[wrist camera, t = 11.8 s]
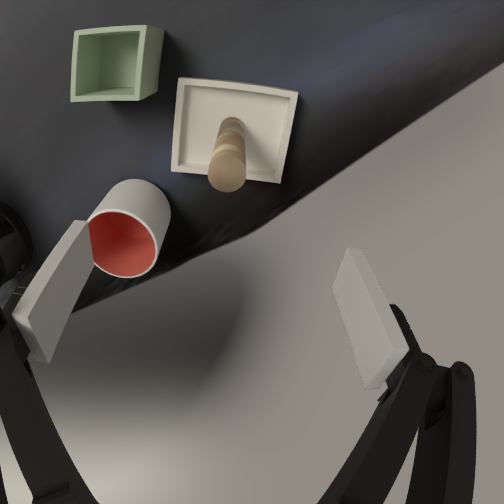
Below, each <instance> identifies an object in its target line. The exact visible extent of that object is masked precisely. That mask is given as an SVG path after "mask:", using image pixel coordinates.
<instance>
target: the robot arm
mask: <svg viewBox="0 0 504 504" xmlns="http://www.w3.org/2000/svg"><path fill="white" fill-rule="evenodd" d="M31 257H32V243H31V239H30V236H29V233H28V231H27V229H26V227H25V225H24V223H23V222H22V220H21V219H20V218H19V216H18V215H17V214H16V213H15V212H14V211H13V210H12V209H11V208H9V207H8V206H6V205H5V204H3V203H0V287H1V286H2V285H3V284H4V283H6V282H7V281H9V280H11V279H12V278H14V277H15V276H17V275H18V274H20V273H21V272H22V271H23V270H24V269H25V268H26V266H27V265H28V263H29V262H30V260H31ZM93 267H94V260H93V254H92V248H91V241H90V234H89V227H88V221H78V220H74V222H73V223H72V224H71V226H70V227H69V228H68V230H67V231H66V232H65V234H64V235H63V236H62V238H61V239H60V240H59V242H58V243H57V245H56V246H55V247H54V249H53V250H52V252H51V253H50V255H49V256H48V257H47V259H46V260H45V262H44V263H43V265H42V266H41V268H40V269H39V271H38V272H34V271H31V272H30V273H28V274H27V275H26V276H25V277H23V279H22V280H21V282H20V283H19V285H18V287H17V288H16V289H15V291H14V294H12V296H11V297H10V299H9V300H8V302H7V304H6V305H5V307H4V308H3V310H2V309H1V307H0V415H1V418H2V421H3V424H4V427H5V430H6V433H7V436H8V439H9V442H10V444H11V447H12V450H13V452H14V455H15V457H16V460H17V462H18V464H19V467H20V469H21V471H22V473H23V476H24V478H25V480H26V482H27V485H28V487H29V489H30V491H31V492H32V495H33V501H32V504H99V503H98V502H97V501H96V499H95V498H94V496H93V495H92V493H91V492H90V490H89V489H88V487H87V485H86V484H85V482H84V481H83V479H82V477H81V476H80V474H79V472H78V470H77V469H76V467H75V465H74V463H73V461H72V460H71V458H70V456H69V454H68V452H67V451H66V448H65V446H64V444H63V443H62V440H61V439H60V436H59V434H58V432H57V430H56V428H55V426H54V424H53V422H52V419H51V417H50V415H49V413H48V410H47V408H46V406H45V403H44V401H43V398H42V396H41V394H40V391H39V388H38V386H37V383H36V380H35V378H34V375H33V372H32V370H31V366H30V364H29V362H28V360H27V357H28V355H29V353H30V352H31V354H32V356H33V358H34V360H37V361H40V362H44V363H48V364H49V363H50V361H51V358H52V356H53V353H54V350H55V348H56V346H57V343H58V341H59V339H60V336H61V334H62V332H63V329H64V327H65V325H66V323H67V320H68V318H69V316H70V314H71V312H72V310H73V307H74V305H75V303H76V301H77V299H78V297H79V295H80V293H81V291H82V289H83V287H84V285H85V283H86V281H87V279H88V277H89V275H90V273H91V271H92V269H93ZM332 290H333V292H334V295H335V298H336V301H337V304H338V307H339V310H340V313H341V316H342V319H343V322H344V325H345V328H346V331H347V334H348V337H349V341H350V344H351V347H352V350H353V354H354V357H355V360H356V363H357V366H358V370H359V373H360V377H361V380H362V383H363V387H364V389H365V390H366V389H378V388H380V387H381V386H382V385H383V383H384V382H385V381H386V383H387V386H388V388H387V390H386V391H385V392H384V393H383V394H382V396H381V397H380V398H379V399H378V401H380V402H379V404H378V406H377V408H376V410H375V412H374V414H373V416H372V418H371V419H370V421H369V423H368V425H367V426H366V428H365V430H364V432H363V434H362V435H361V437H360V439H359V440H358V442H357V444H356V446H355V448H354V449H353V451H352V452H351V454H350V455H349V457H348V459H347V460H346V462H345V464H344V465H343V467H342V468H341V470H340V471H339V473H338V474H337V476H336V477H335V479H334V481H333V482H332V483H331V485H330V486H329V488H328V489H327V491H326V492H325V493H324V495H323V496H322V498H321V499H320V500H319V502H318V503H317V504H383V503H384V501H385V499H386V497H387V495H388V493H389V491H390V490H391V488H392V486H393V484H394V482H395V480H396V477H397V476H398V474H399V471H400V469H401V467H402V465H403V463H404V460H405V458H406V456H407V454H408V451H409V449H410V447H411V445H412V442H413V440H414V437H415V435H416V432H417V430H418V427H419V430H418V438H417V445H416V451H415V458H414V464H413V469H412V475H411V481H410V485H409V490H408V495H407V499H406V503H405V504H472V498H473V490H474V479H475V465H476V396H475V382H474V374H473V371H472V370H471V368H470V367H469V366H468V365H467V364H465V363H464V362H460V361H457V362H455V363H454V364H453V365H452V366H451V367H450V368H447V367H443V366H439V365H437V364H436V362H435V360H434V359H433V358H432V357H431V356H429V355H428V354H426V353H422V351H421V349H420V347H419V345H418V343H417V341H416V339H415V337H414V334H413V332H412V330H411V329H410V326H409V324H408V322H407V320H406V318H405V316H404V314H403V312H402V311H401V310H400V309H399V308H398V307H397V306H396V305H395V304H388V301H387V299H386V297H385V295H384V293H383V291H382V289H381V287H380V285H379V284H378V281H377V279H376V277H375V276H374V274H373V272H372V270H371V268H370V266H369V264H368V262H367V260H366V258H365V256H364V254H363V253H362V251H361V249H357V248H349V247H347V250H346V252H345V255H344V258H343V260H342V263H341V266H340V269H339V271H338V274H337V276H336V279H335V282H334V284H333V287H332ZM0 504H8V501H7V497H6V493H5V488H4V483H3V479H2V473H1V467H0Z"/></svg>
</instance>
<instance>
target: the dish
mask: <svg viewBox="0 0 504 504" xmlns="http://www.w3.org/2000/svg"><path fill="white" fill-rule="evenodd" d="M297 98H298V92H297V91H295V90H290V89H284V88H279V87H273V86H266V85H260V84H253V83H245V82H237V81H228V80H219V79H208V78H195V77H180V78H178V86H177V96H176V107H175V118H174V131H173V145H172V162H171V171H174V172H185V173H196V174H206V175H208V169H209V165H210V161H211V158H212V154H213V150H214V146H215V143H216V139H217V135H218V132H219V128H220V125H221V123H222V121H223V120H224V119H226V118H228V117H236V118H239V119H240V120H241V121H242V122H243V124H244V133H245V155H246V179H250V180H258V181H266V182H273V183H280V182H281V177H282V172H283V167H284V163H285V158H286V153H287V148H288V143H289V138H290V133H291V128H292V123H293V118H294V113H295V108H296V103H297Z"/></svg>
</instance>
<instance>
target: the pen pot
mask: <svg viewBox="0 0 504 504" xmlns="http://www.w3.org/2000/svg"><path fill="white" fill-rule="evenodd" d="M163 38H164V30H163V29H159V28H156V27H152V26H149V25H132V26H115V27H103V28H93V29H85V30H77V31H75V32H74V42H73V55H72V71H71V102H79V101H140V100H142V99H144V98H146V97H148V96H150V95H152V94H154V93H156V92H158V83H159V72H160V63H161V54H162V46H163Z"/></svg>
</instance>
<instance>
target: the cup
mask: <svg viewBox="0 0 504 504" xmlns="http://www.w3.org/2000/svg"><path fill="white" fill-rule="evenodd" d="M170 218H171V210H170V205H169V202H168V200H167V198H166V196H165V195H164V193H163V192H162V191H161V190H160V189H159V188H158V187H157V186H155V185H154V184H152V183H150V182H148V181H145V180H141V179H129V180H125V181H122V182H120V183H118V184H117V185H115V186H114V187H113V188H112V189H111V190H110V191H109V193H108V194H107V195H106V196H105V198H104V199H103V200H102V202H101V203H100V204H99V205H98V207H97V208H96V209H95V211H94V212H93V213H92V215H91V216H90V217H89V219H88V220H87V221H88V227H89V234H90V241H91V248H92V254H93V260H94V264H95V265H96V266H97V267H99V268H100V269H101V270H103V271H105V272H106V273H108V274H111V275H113V276H117V277H122V278H133V277H138V276H141V275H143V274H145V273H147V272H148V271H149V270H150V269H151V268H152V267H153V266H154V264H155V262H156V260H157V257H158V254H159V251H160V248H161V246H162V243H163V240H164V237H165V234H166V231H167V228H168V226H169V223H170Z"/></svg>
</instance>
